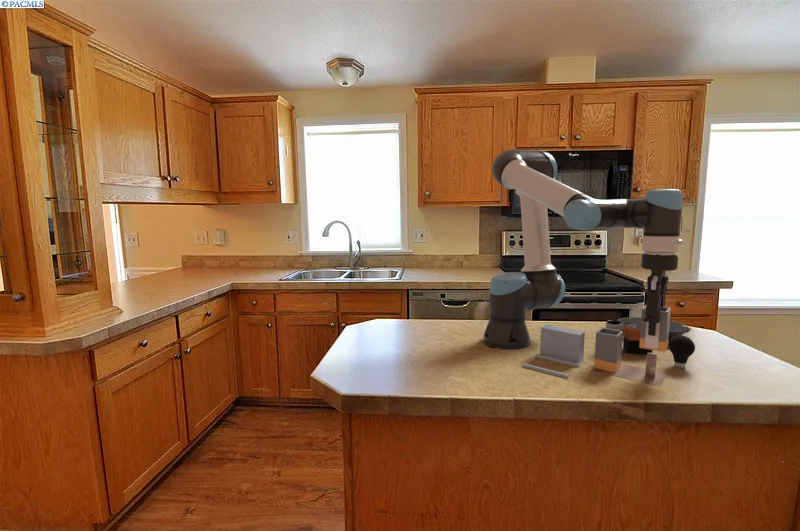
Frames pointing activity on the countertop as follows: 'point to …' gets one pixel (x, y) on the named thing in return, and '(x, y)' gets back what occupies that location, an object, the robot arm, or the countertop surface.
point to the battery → (633, 340)
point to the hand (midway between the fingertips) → (653, 343)
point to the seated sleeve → (608, 349)
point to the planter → (614, 325)
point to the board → (674, 327)
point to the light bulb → (681, 349)
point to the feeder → (560, 348)
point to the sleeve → (663, 329)
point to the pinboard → (639, 372)
